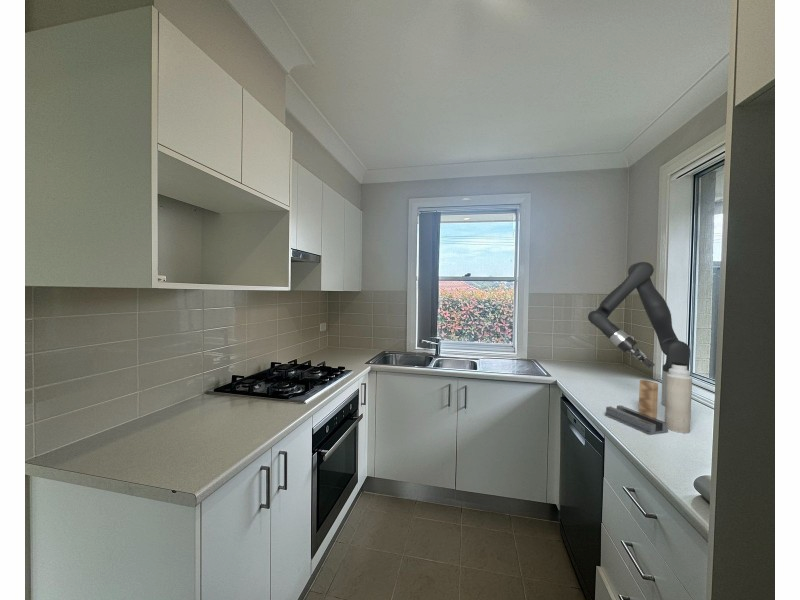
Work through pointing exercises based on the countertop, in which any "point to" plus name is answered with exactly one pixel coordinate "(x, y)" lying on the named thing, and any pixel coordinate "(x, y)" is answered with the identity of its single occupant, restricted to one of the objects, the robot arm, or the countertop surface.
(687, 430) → the thermos bottle
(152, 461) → the countertop surface
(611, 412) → the rail
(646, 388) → the door slat
